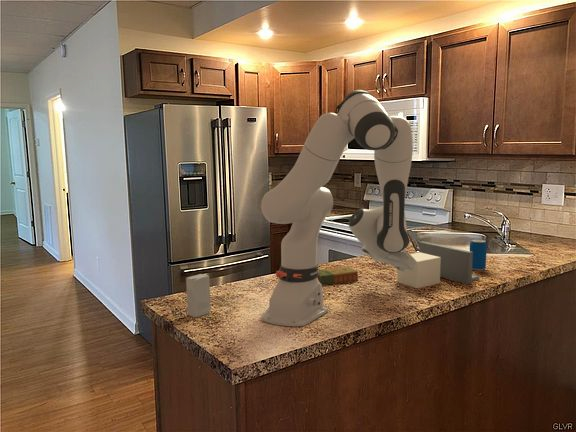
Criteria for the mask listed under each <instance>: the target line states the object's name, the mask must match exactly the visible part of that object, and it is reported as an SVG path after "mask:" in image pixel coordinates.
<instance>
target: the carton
mask: <svg viewBox="0 0 576 432" xmlns="http://www.w3.org/2000/svg"><path fill="white" fill-rule="evenodd" d="M358 273H359V271H357V270H356V269H354V268H353V267H349V266H341V267H333V268H332V267H331V268H326V269H325V268H324V269H318V277H317V278H318V280H319V282H320V283H321V285H322V286H326V285H334V284H335V285H336V284H342V283H343V284H344V283H349V282H350V283H351V282H357V281H359V278H358V276H359V274H358Z"/></svg>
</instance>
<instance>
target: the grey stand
mask: <svg viewBox="0 0 576 432" xmlns="http://www.w3.org/2000/svg"><path fill="white" fill-rule="evenodd" d="M418 243H419V246H418V251H419V252H418V253H420V252H421V253H425V254H429V255H433V256H437V257H441V264H440V278H444V279H446V280H451V281H455V282H456V283H457V282H458V283H461V284H465V285H471V284H472V282H474V281H478V280H480V275H477V274H476V275H475V274H473V270H472V260H473V252H471V251H470V250H465V249H462V248H461V249H460V248H456V247H452V246H445V245H441V244H437V243H432V242H427V241H419V242H418Z"/></svg>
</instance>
